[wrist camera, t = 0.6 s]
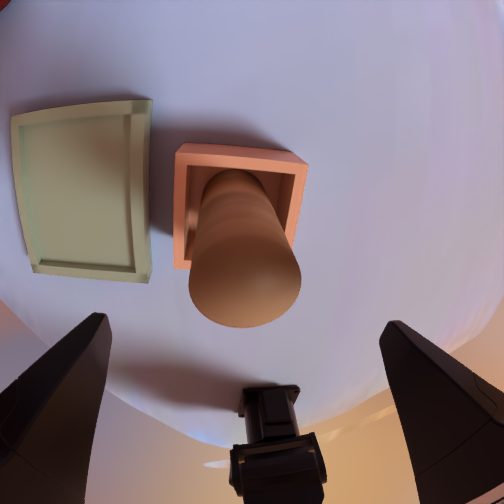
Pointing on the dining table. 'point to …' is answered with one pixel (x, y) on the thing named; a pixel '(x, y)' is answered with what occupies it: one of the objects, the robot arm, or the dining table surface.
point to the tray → (85, 189)
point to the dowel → (241, 255)
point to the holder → (223, 158)
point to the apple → (3, 3)
